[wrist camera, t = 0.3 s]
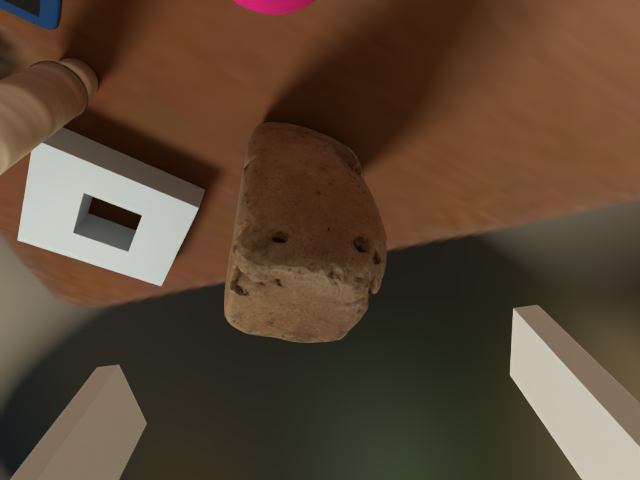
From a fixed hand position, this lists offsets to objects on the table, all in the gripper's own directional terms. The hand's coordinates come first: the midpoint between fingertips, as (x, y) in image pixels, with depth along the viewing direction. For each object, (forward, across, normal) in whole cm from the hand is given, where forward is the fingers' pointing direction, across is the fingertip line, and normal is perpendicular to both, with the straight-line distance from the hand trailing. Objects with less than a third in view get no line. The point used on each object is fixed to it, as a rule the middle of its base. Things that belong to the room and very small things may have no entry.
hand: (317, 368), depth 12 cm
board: (+27, -21, +1) cm, 34 cm away
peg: (+24, -18, +12) cm, 33 cm away
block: (+28, -1, +2) cm, 28 cm away
